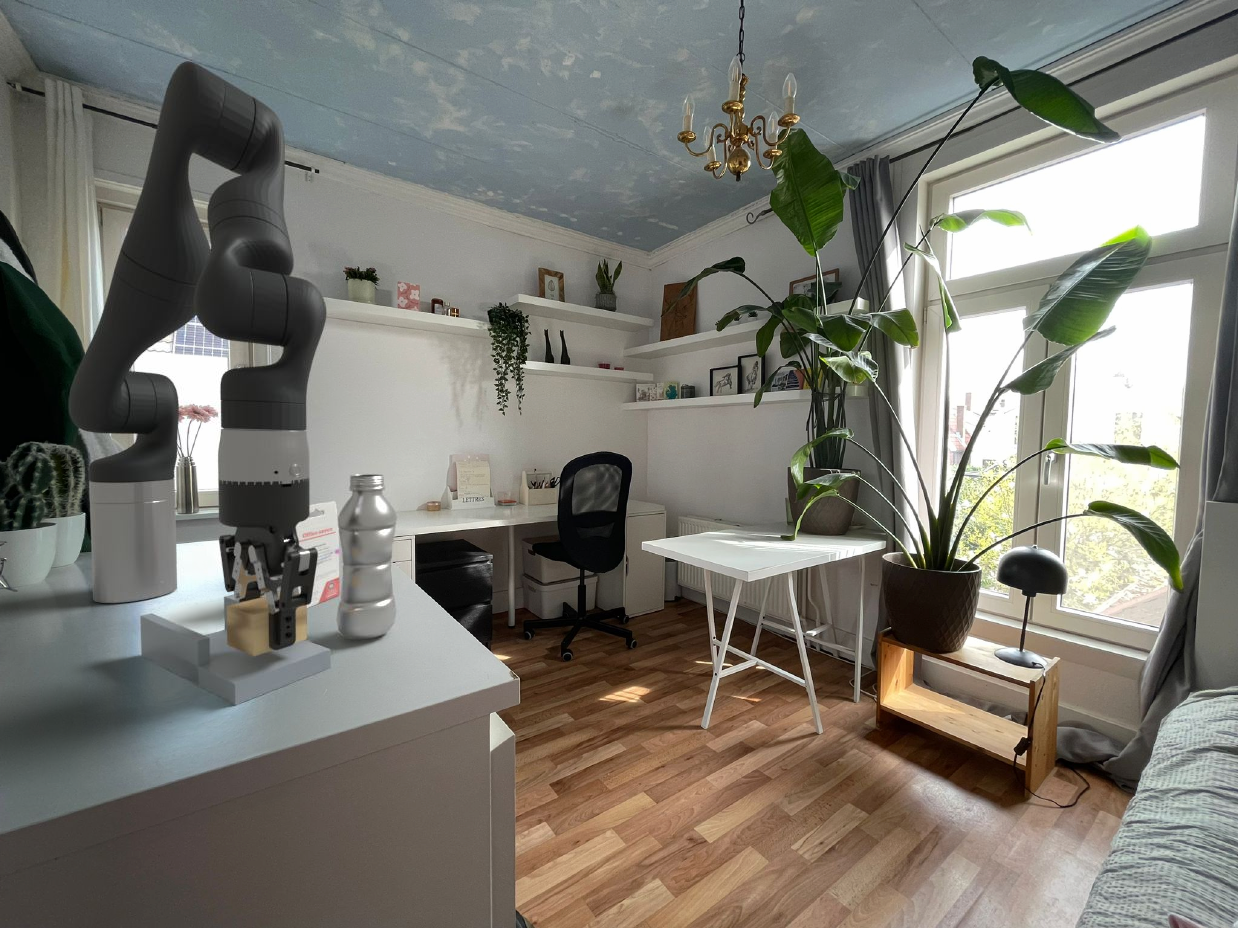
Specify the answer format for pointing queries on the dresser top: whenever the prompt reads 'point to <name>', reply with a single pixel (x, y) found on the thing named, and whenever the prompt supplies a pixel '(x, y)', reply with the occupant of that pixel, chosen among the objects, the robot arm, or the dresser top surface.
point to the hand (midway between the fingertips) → (267, 639)
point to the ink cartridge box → (321, 550)
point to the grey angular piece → (227, 659)
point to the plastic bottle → (366, 560)
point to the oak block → (257, 626)
